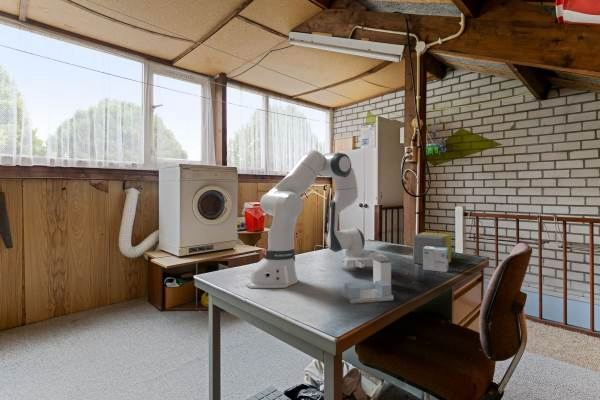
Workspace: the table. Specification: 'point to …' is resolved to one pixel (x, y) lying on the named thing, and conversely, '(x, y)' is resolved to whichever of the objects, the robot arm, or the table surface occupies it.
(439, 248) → the light bulb box
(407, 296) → the table surface
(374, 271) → the block
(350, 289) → the mounted modules
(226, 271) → the table surface
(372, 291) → the grey flat base plate
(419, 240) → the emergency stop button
